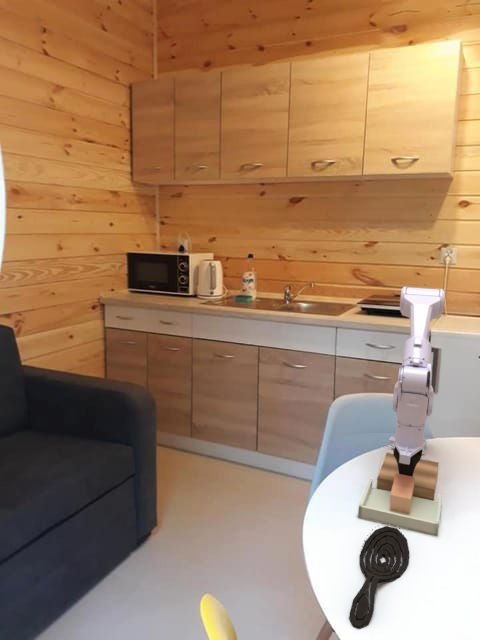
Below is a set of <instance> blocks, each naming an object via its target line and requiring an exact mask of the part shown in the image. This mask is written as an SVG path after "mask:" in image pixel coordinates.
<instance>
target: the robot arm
mask: <svg viewBox="0 0 480 640" xmlns="http://www.w3.org/2000/svg"><path fill="white" fill-rule="evenodd" d="M400 291H401V292H400V297H399V298H400V299H399V300H400V301H399V312H400V313H401V316H403V317H407V318H408V319H409V322H410V323H409V324H410V326H409V328H410V333H409V338H408V339H406V340H405V341H404V343H403V350H402V351H403V352H402V353H403V354H402V359H401V360H402V362H401V367H399V370H398V374H397V376H398V377H397V381H396V383H395V384H394V390H393V397H392V408H391V409H392V410H393V412H395V413H396V424H395V435H394V436H390V437H389V440H388V442H389V443H391V449H392V450H393V454H394V457H395V459H396V461H397V464H398V470H399V474H402V475H407V476H413V473H414V469H415V467H416V465H417V463H418V462H419V461H420V459H422V455H424V453H425V452H424V451H425V449H426V448H425V447H426V443H427V439H425V429H426V420H427V417H430V416H431V415H432V413H433V406H434V405H433V404H434V388H433V385H432V381H433V371H432V363H431V362H432V360H431V359H432V348H433V346H432V343H431V342H430V341H429V340H428V337H429V336H428V335H429V329H430V323H431V322H432V320H436V319H440V318H441V317H442V314H443V313H444V304H445V294H446V293H445V290H444V289H443V288H426V287H425V288H424V287H409V286H408V287H407V286H403V287H402V288H401V290H400Z"/></svg>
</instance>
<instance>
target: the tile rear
mask: <svg viewBox="0 0 480 640" xmlns="http://www.w3.org/2000/svg"><path fill="white" fill-rule="evenodd" d="M414 484H415V477H412V476H407V475H402V474H397V473H395V478H394V482H393V485H397V486H402V487H407V488H411V489H413V492H414ZM412 497H413V493H412Z"/></svg>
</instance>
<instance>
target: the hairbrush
mask: <svg viewBox="0 0 480 640" xmlns="http://www.w3.org/2000/svg"><path fill="white" fill-rule="evenodd" d="M384 525H385V526H382V527H379V525H377V527H378V528H377V527H376V526H374V527H375V528H377V529H375V530H374V531H373V528H372V530H371V531H373V532H372V533H371V532H369V536H367V538H366V539H364V540H363V542H364V543H362V545H361V548H360V554H359V556H358V557H359V558H358V559H359V567H360V570H361V573H362V574H363V575H364V577H365V580H364V582H363V584H362V586H361V588H360V589H359V590H358V592H357V594H356V595H355V597H353V599H352V603H351V606H350V610H349V616H348V618H349V621H350V623H351V626H352V627H353V628H355V629H359V630H361V629H363V628H365V627H367V626H369V623H370V621H371V619H372V617H373V614H374V610H375V596H376V592H377V588H378V585H379V584H386V583H391V582H394V581H397V580H398V579H399V578H400V577H402V575H403V574H404V573H406V570H407V569H408V566H409V561H410V549H409V544H408V543H409V542H408V539H407V537H406V536H405V534H403V533H402V531H401V530H400V529H401V528H400V527H396V525H395V526H392V524H391V525H390V526H389V525H388V524H384ZM391 526H392V527H391ZM382 558H384V560H385V561H382Z"/></svg>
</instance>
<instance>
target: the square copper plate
mask: <svg viewBox="0 0 480 640" xmlns="http://www.w3.org/2000/svg"><path fill="white" fill-rule="evenodd" d="M438 472H439V462H438V461H434V460H433V461H432V460H428V459H422V458H421V459H420V461H419V462H418V463H417V465H416V467H415V469H414V473H413V476H412V477H415V484H414V492H413V496H414V497H419V498H423V499H428V500H433V501H435V493H436V488H437V487H436V486H437V479H438ZM395 473H397V474H399V470H398V464H397V461H396V459H395V457H394V453H392V452H391V453H390V452H386V453H385V457H384V459H383V462H382V464H381V467H380V470H379V472H378V476H377V479H376V488H377V489H381V490H386V491H391V490H392V486H393V482H394V478H395Z"/></svg>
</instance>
